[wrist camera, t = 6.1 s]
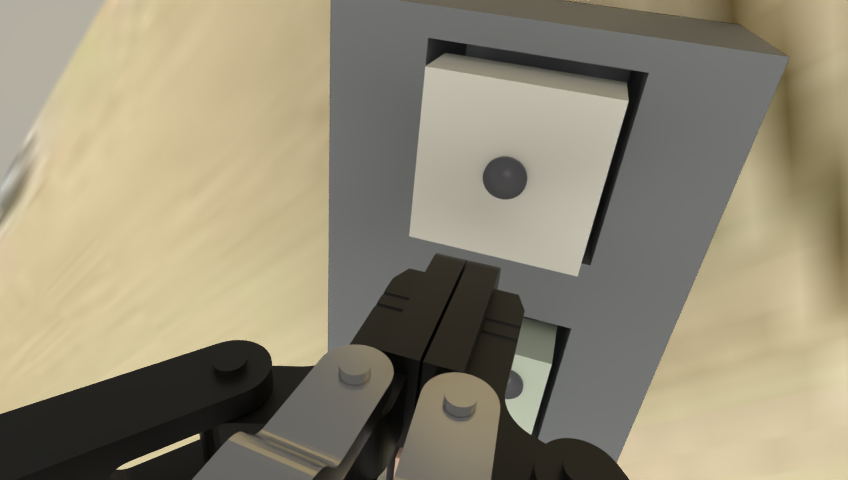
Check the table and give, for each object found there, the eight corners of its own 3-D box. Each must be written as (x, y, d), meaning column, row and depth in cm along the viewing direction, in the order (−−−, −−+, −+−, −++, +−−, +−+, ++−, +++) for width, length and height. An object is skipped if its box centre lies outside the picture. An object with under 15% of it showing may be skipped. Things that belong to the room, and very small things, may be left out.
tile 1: (626, 74, 18) (629, 102, 15) (582, 230, 21) (577, 279, 18) (453, 47, 19) (423, 67, 16) (435, 197, 22) (407, 238, 19)
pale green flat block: (559, 310, 23) (551, 367, 20) (531, 408, 26) (520, 471, 23) (426, 276, 24) (399, 325, 21) (414, 374, 27) (389, 429, 24)
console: (740, 24, 21) (789, 57, 15) (567, 489, 36) (558, 597, 30) (399, -22, 24) (330, -10, 18) (369, 426, 39) (326, 513, 33)
